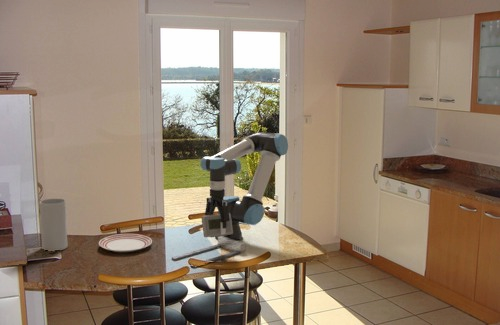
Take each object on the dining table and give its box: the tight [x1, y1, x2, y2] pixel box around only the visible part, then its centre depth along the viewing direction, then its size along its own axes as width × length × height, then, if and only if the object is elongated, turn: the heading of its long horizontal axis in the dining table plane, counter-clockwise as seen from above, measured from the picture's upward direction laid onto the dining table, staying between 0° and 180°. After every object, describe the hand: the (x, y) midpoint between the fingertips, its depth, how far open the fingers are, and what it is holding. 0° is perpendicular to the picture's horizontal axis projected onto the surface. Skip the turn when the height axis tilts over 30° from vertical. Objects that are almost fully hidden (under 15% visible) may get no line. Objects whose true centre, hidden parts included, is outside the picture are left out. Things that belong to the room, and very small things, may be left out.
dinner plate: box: [98, 233, 153, 253], centre depth 294 cm, size 28×27×3 cm
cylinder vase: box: [39, 198, 68, 251], centre depth 288 cm, size 12×12×25 cm
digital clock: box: [201, 213, 233, 238], centre depth 283 cm, size 16×9×11 cm, turn 105°
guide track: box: [171, 236, 246, 269], centre depth 281 cm, size 17×34×5 cm, turn 136°
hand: (216, 232), depth 284 cm, fingers closed on digital clock, 8 cm apart
